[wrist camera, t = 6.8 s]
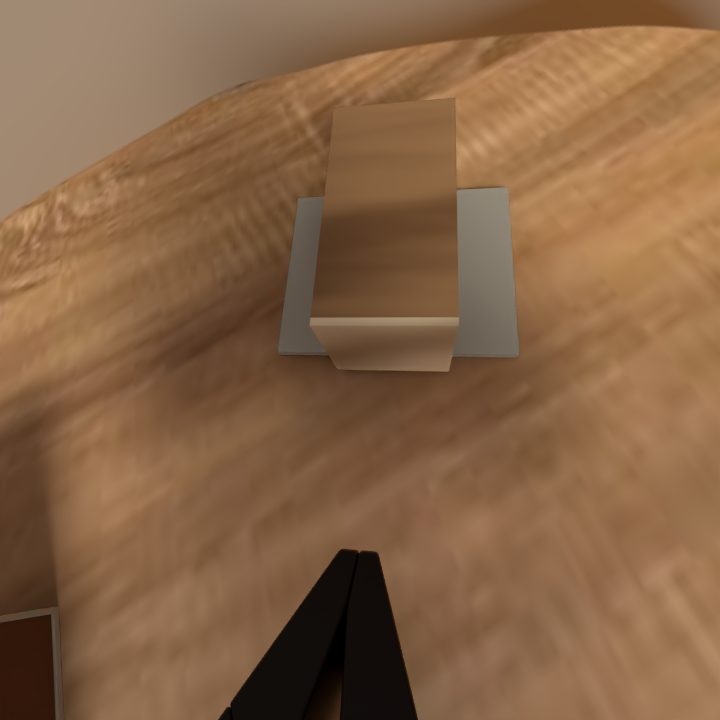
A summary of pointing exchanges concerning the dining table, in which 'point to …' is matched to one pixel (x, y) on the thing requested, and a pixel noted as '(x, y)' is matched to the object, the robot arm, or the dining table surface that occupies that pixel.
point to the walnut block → (389, 239)
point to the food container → (31, 666)
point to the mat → (475, 278)
